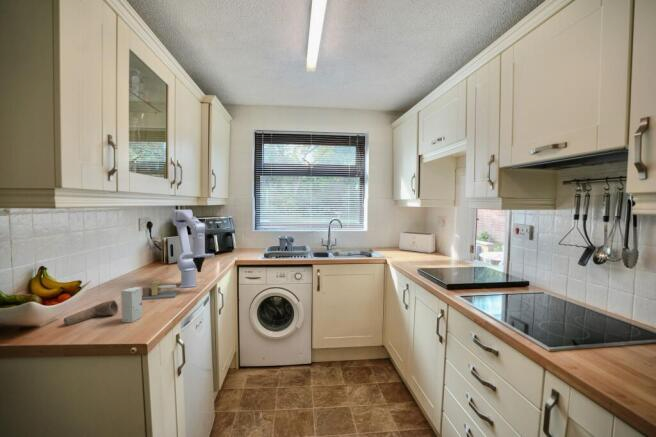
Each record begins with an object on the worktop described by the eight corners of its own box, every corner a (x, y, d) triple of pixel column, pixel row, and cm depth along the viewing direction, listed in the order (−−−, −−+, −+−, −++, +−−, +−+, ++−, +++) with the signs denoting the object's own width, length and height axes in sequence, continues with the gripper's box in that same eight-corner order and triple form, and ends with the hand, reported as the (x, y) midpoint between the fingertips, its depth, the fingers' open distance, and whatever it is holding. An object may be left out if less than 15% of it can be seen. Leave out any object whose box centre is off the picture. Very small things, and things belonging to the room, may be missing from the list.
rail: (139, 300, 137) (139, 289, 137) (147, 294, 146) (146, 283, 146) (174, 297, 141) (174, 287, 140) (179, 291, 150) (179, 281, 150)
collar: (151, 295, 140) (151, 283, 140) (155, 292, 146) (155, 280, 145) (157, 295, 140) (157, 283, 140) (161, 291, 146) (160, 280, 146)
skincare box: (132, 322, 110) (131, 291, 110) (120, 322, 110) (120, 291, 110) (143, 316, 116) (142, 286, 116) (132, 316, 116) (131, 286, 116)
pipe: (57, 313, 107) (77, 311, 104) (102, 299, 123) (121, 297, 120) (60, 330, 107) (80, 329, 104) (105, 314, 123) (123, 312, 120)
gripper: (181, 247, 144) (182, 274, 145) (212, 246, 148) (213, 272, 149) (184, 245, 151) (185, 271, 152) (214, 244, 155) (214, 269, 155)
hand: (199, 271), depth 151 cm, fingers closed
